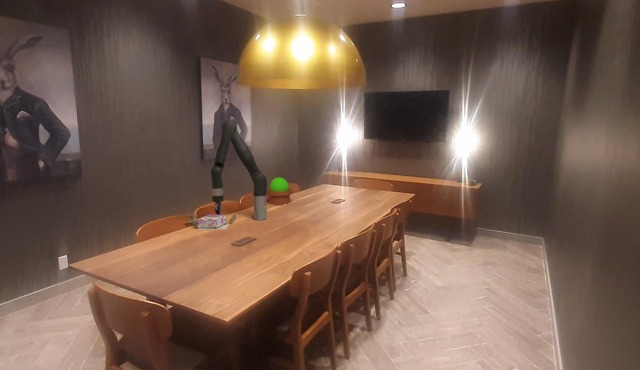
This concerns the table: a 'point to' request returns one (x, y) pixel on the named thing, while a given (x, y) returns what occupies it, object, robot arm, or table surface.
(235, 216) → the rack
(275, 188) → the potted cactus
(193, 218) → the offcut stack
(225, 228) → the mat
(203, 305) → the table surface
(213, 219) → the candy box
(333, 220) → the table surface
